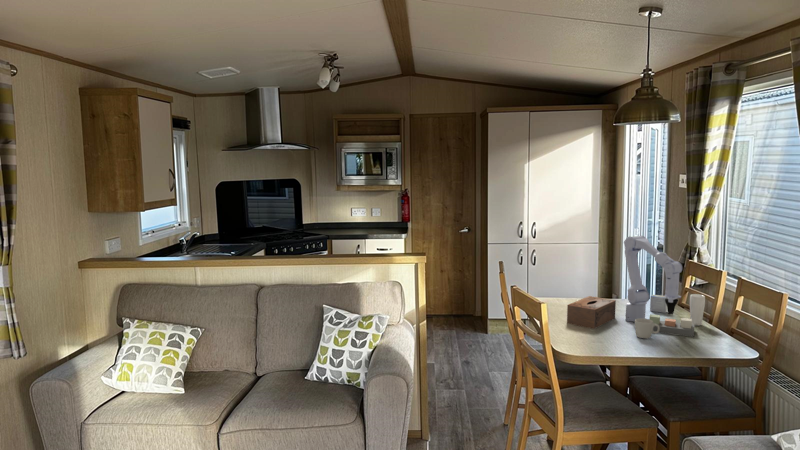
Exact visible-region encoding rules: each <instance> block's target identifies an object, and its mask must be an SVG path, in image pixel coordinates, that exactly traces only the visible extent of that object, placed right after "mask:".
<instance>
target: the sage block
mask: <svg viewBox="0 0 800 450" xmlns="http://www.w3.org/2000/svg"><path fill="white" fill-rule="evenodd" d="M648 319H649V320H652V321H653V323H655V324H658V325H660V321H661V315H659V314H654V313H653V314H652V313H650V315H649V318H648Z"/></svg>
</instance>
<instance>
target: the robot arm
mask: <svg viewBox="0 0 800 450" xmlns="http://www.w3.org/2000/svg"><path fill="white" fill-rule="evenodd" d="M623 244H624V256H625V257H624V258H625V261H626V268H627V272H628V276H629V282H630V286H629V288H628V289H627V300H628V302H626V305H625V321H626V322H627V321H628V322H632V323H633V322H634V323H635V319H640V318H642V319H647V317H646V306H647V303H648V302H649V300H650V299H651V295H650V293H649V292H648V290H647V289H648V288H647V287H646V285H644V284H643V282H642V276H641V271H640V266H639V260H638V256H637V254H639V252H640V251H641V250H644V251H645V252H647V253H648V254H650V255H651V256H652V257H653V258H654V262H655V263H657V264H658V265H659V266H660V267H662V268H663V272H664V273H665V291H664V293H665V294H664V296H665V297H666V298H667V299H665V302H666V304H667V314H668V315H674V313H675V308H676V306H677V303H678V301H679V299H681V298H682V295H679V289H680V288H679V285H680V273H682V271H683V264H682V263H681V262H680V261H678V260H674V258H671V257H670V256H669V255H668V254H667V252H663V251H659V250H658V249H657V248H656V247H655V246H654V245H653V244H652V243H651V242H650V241H649V239H648V238H647V237H646V236H644V235H637V236H627V237H626V238H625V240H624V241H623Z"/></svg>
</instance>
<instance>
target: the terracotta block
mask: <svg viewBox="0 0 800 450" xmlns="http://www.w3.org/2000/svg"><path fill="white" fill-rule="evenodd" d="M664 321H665V325H666V326H674V327H675V326H676V323H677V320H676V319H674V318H666V317H665V319H664Z"/></svg>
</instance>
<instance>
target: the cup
mask: <svg viewBox="0 0 800 450" xmlns="http://www.w3.org/2000/svg"><path fill="white" fill-rule="evenodd" d="M634 326H635V336H636V337H637V338H640V339H650V338H651V337H652V335H654V334H658V333H660V332H659V330H660V328H659V325H657V324H655V323H653V321H652V320H649V318H646V319H642V318H640V319H635V322H634ZM654 326H657V328H658V330H657V331H656V332H654V331H653V327H654Z"/></svg>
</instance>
